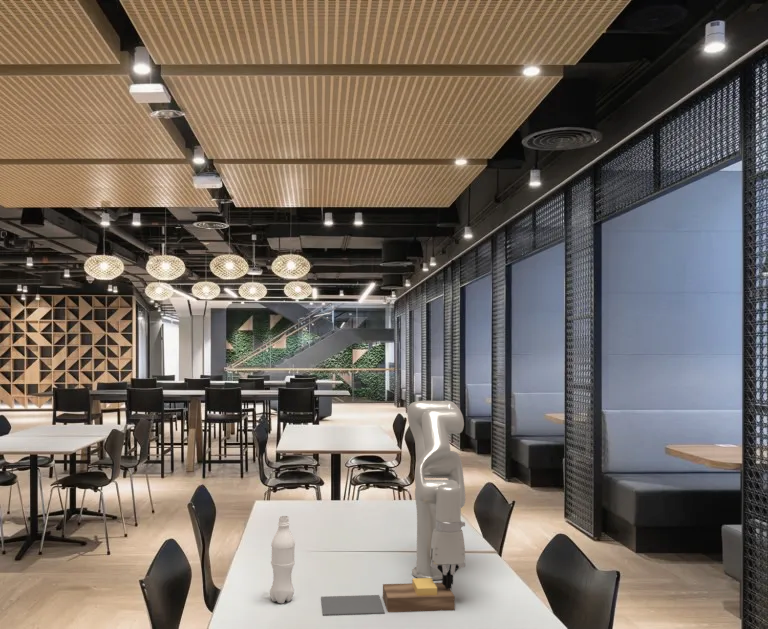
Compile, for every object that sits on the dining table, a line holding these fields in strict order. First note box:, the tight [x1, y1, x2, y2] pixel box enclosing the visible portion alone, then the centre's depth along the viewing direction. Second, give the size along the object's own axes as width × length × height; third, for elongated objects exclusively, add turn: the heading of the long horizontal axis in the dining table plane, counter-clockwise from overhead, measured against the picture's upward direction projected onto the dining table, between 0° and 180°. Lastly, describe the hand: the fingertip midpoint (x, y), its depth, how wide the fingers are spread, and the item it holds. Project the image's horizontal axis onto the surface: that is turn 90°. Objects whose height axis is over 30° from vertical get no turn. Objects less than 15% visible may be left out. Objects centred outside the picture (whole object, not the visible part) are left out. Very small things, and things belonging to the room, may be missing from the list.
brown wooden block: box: [382, 582, 456, 613], centre depth 201 cm, size 12×20×4 cm, turn 97°
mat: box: [320, 594, 386, 617], centre depth 198 cm, size 14×18×1 cm
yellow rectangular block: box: [411, 577, 437, 596], centre depth 201 cm, size 9×6×2 cm, turn 7°
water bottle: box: [269, 515, 296, 604], centre depth 202 cm, size 7×7×25 cm
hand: (447, 586), depth 202 cm, fingers closed
